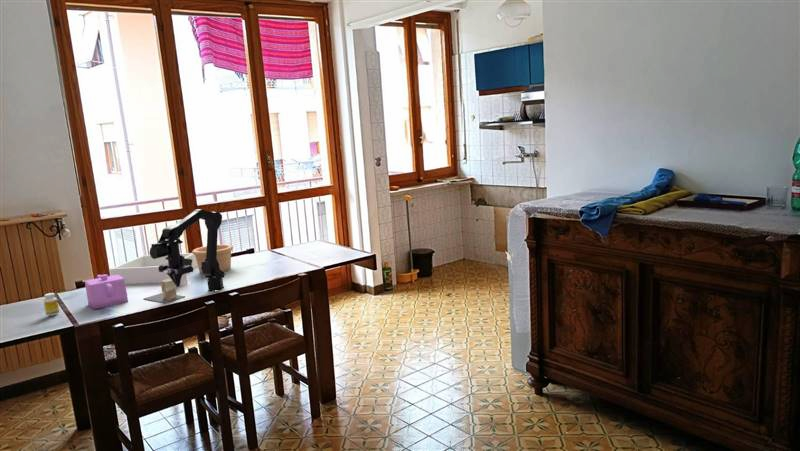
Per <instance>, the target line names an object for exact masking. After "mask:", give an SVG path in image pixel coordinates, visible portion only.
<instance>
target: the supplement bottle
mask: <svg viewBox="0 0 800 451" xmlns="http://www.w3.org/2000/svg"><path fill="white" fill-rule="evenodd" d="M55 296H56V295H55V292H48V293H45V294H44V299H43V305H44V306H43V307H44V311H45V315H46V316H47V315H48V316H49V315H51V316H54V315H55V316H56V315H58V314H60V308H59V304H58V298H57V297H55Z"/></svg>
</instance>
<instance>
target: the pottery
mask: <svg viewBox="0 0 800 451" xmlns="http://www.w3.org/2000/svg"><path fill="white" fill-rule="evenodd" d="M233 249H234V246H233V245H231V244H226V243H224V244H217V260H218V263H219V267H220V270H221V271H223V272H224V273H226V272H229V271H230V270H231V269H232V251H233ZM206 252H207V245H205V246H200V247H196V248H194V249H193V250H192V251H191V253H193V254H194V255H195V257H196V261H197V264H198V266H197V267H198V272H199V274H200V275H202V276H205V275H204V274H203V273H202V270H201V267H202V265H201V263H202V261H203V262H204V261H205V259H206Z"/></svg>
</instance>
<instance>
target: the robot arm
mask: <svg viewBox="0 0 800 451" xmlns="http://www.w3.org/2000/svg"><path fill="white" fill-rule="evenodd" d="M199 220H203V221H204V225H205V226H206V229H207V231H206V232H207V234H206V246H207V252H206V259H205V261H204V262H203V261H202V263H201V265H202V267H201V270H202V273H203V274H204V275H203V276H205V279H207V288H208V289H207V292H216V291H215V290H221V289H222V290H223V289H225V288H224V287H225V286H224V281H223V280H224V278H225V274H226V272H223V271H221V270H220V267H219V263H218V260H217V245H218V234H219V229H220V227H221V225H222V222H223V214H221V212H219V211H209V210H205V209H203V208H200V209H198V208H197V209H194V210H193V211H192V212H191V213H190V214H188V215H187V216H185V217H184V218H182V219H181V220H179V221H178V222H177V223H175V224H173V225H169V226H167V227H164V228H163V229H162V231H161V236H160V237H159V239H158V242H156V243H151V245H150V248H149V255H150V256H151V257H152V258H153V259H157V258H161V257H165V256H167V257H165V258H166V260H168V264H164V265H160V266H159V268H158V269H159V272H163V271H164V270H168V273H166V274H168V276H169V277H170V278H171V279H172V281H173V282H174V284H175V285H176V286H177V287H181V286H180V282H181V277H182V275H183V274H186V275H187V274H190V273H193V272H194V268H193V267H192V259H185V257H183V256H182V255H180V254H181V251H180V244H183V242H184V241H183V240H181V239H180V237H181V236H183V233H184V232H185V231H186V230H187V229H188V228H189V227H191V226H192V225H194V224H195V223H197V221H199ZM185 265H186V266H185ZM188 265H189V266H188ZM182 266H183V267H182ZM177 287H176V288H177ZM222 290H221V291H222Z"/></svg>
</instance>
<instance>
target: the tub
mask: <svg viewBox="0 0 800 451" xmlns="http://www.w3.org/2000/svg"><path fill="white" fill-rule="evenodd" d="M180 255H182V256H183V257H185V259H192V267H193V269H195V268H196V267H198V264H197V261H196V257H195V255H194V254H193V253H192V252H187V253H185V252H184V253H180ZM165 257H167V256H165ZM165 257H161V258H157V259H153V258H152V257H151V256H150V254H149V255H148V254H147V255H141V256H138V257H136V258H133V259H131V260H128V261H126V262H123V263H121V264H119V265H117V266H115V267H112V268H110V269H109V274H110V275H109V276H113V275H120V276H121V277H123V278H124V279H125V285H133V284H136V285H137V284H154V283H161V281H163V280H167V279H169V278H168V274H166V273H168V271H167V270H164V271H163V272H159V269H158V268H159V266H160V265H164V264H168V260H166V258H165ZM185 266H186V265H185ZM188 266H189V265H188Z"/></svg>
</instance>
